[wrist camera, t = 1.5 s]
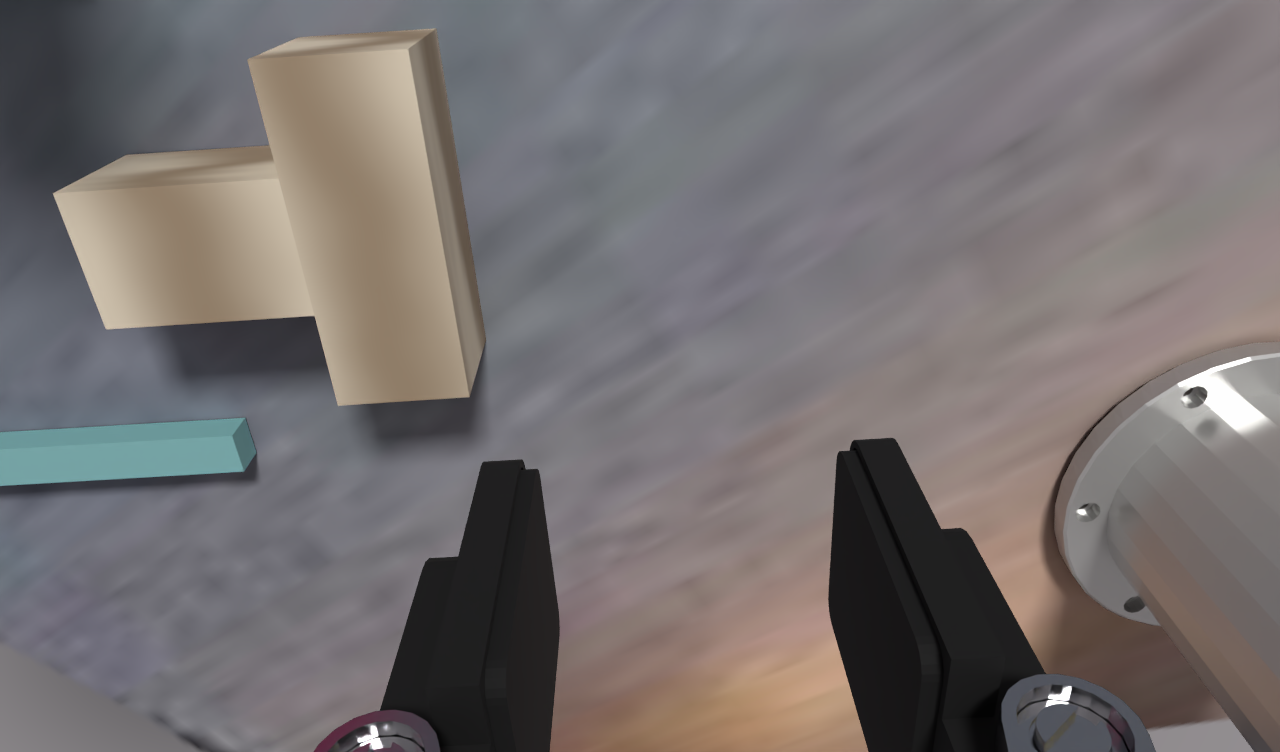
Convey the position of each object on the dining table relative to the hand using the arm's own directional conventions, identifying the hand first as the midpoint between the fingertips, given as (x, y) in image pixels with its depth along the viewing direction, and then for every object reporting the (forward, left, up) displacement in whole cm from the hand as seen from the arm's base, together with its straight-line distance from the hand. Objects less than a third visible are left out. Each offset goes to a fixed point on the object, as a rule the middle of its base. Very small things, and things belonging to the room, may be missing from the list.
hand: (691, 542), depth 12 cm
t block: (+11, 0, -17) cm, 21 cm away
